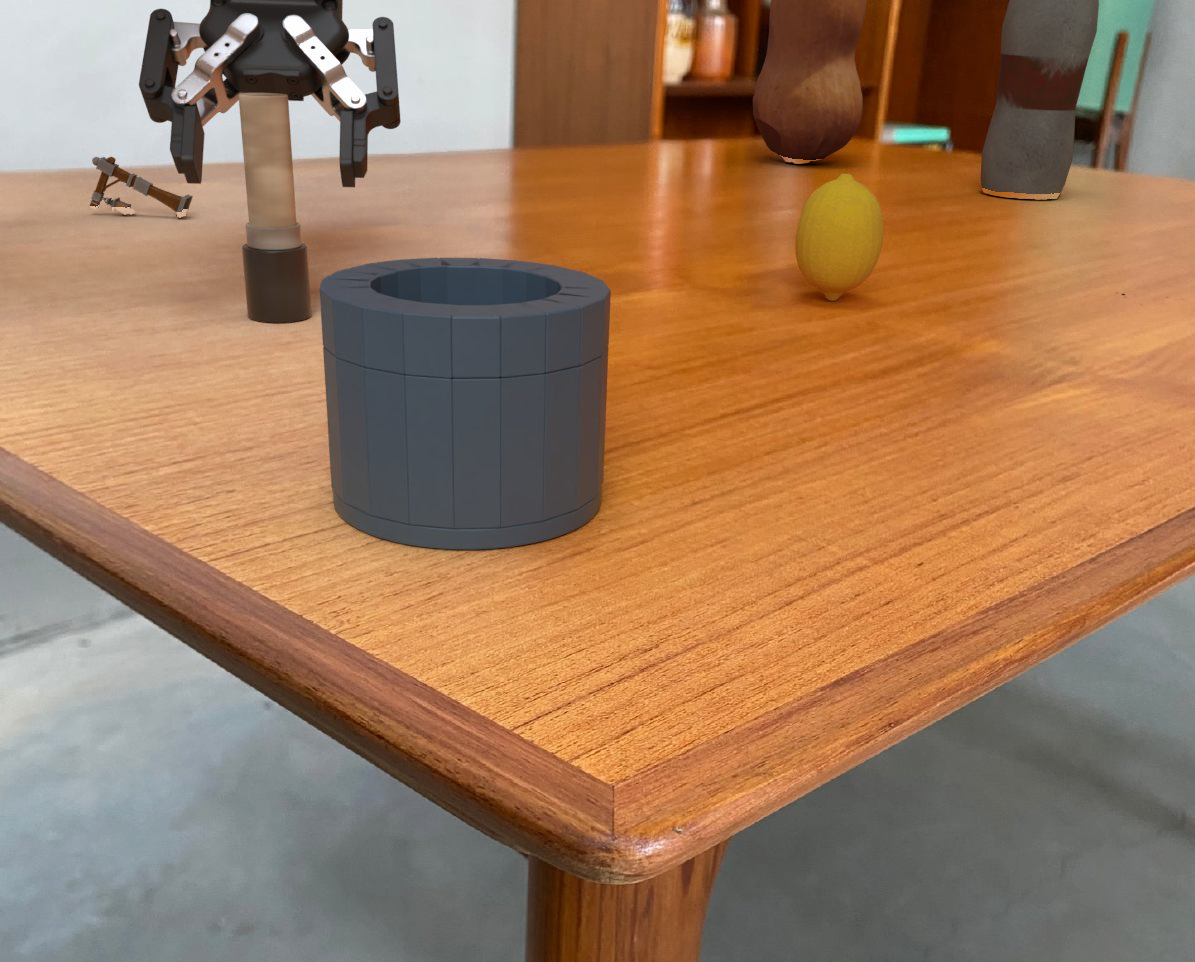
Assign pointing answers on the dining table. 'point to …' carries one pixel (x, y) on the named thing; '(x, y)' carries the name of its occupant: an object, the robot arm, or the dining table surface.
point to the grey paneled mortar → (465, 399)
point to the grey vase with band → (1038, 94)
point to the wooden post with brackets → (133, 181)
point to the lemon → (839, 236)
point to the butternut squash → (810, 78)
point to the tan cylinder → (272, 214)
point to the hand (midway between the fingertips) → (270, 176)
